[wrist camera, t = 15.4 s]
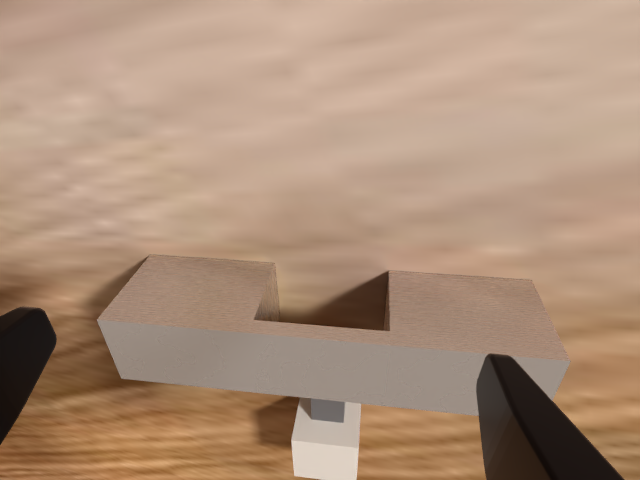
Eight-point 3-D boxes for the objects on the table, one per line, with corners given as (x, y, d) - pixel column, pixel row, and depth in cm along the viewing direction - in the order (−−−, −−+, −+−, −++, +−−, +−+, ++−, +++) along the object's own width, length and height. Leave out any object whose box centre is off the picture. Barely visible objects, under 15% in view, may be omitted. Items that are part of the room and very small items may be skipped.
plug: (297, 325, 24) (285, 373, 21) (365, 331, 24) (363, 381, 21) (303, 426, 30) (294, 475, 27) (359, 432, 29) (356, 483, 26)
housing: (150, 254, 23) (96, 319, 19) (532, 280, 20) (570, 361, 16) (165, 309, 25) (121, 378, 21) (512, 337, 23) (542, 422, 18)
